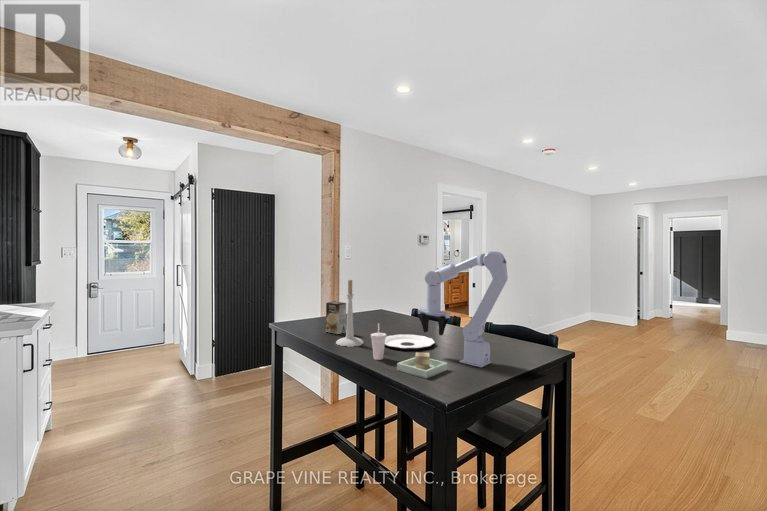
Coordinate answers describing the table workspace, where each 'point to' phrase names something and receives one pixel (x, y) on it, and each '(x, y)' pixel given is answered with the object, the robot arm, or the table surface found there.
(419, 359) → the maple cube
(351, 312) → the candlestick
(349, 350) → the table surface
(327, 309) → the coffee box
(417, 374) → the green tray
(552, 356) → the table surface
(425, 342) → the plate
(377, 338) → the smoothie
